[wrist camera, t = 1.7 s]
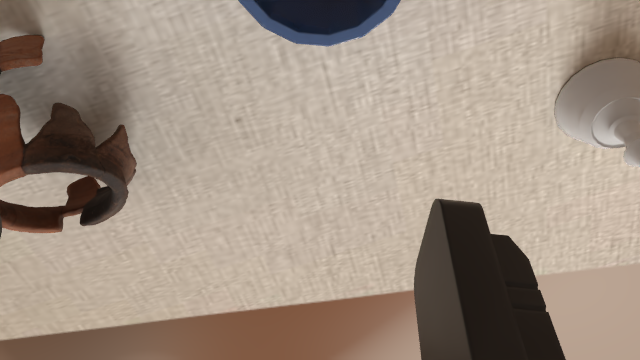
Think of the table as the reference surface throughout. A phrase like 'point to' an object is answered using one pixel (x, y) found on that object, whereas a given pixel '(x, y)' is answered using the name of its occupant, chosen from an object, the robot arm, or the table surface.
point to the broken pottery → (59, 156)
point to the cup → (320, 18)
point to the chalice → (604, 107)
